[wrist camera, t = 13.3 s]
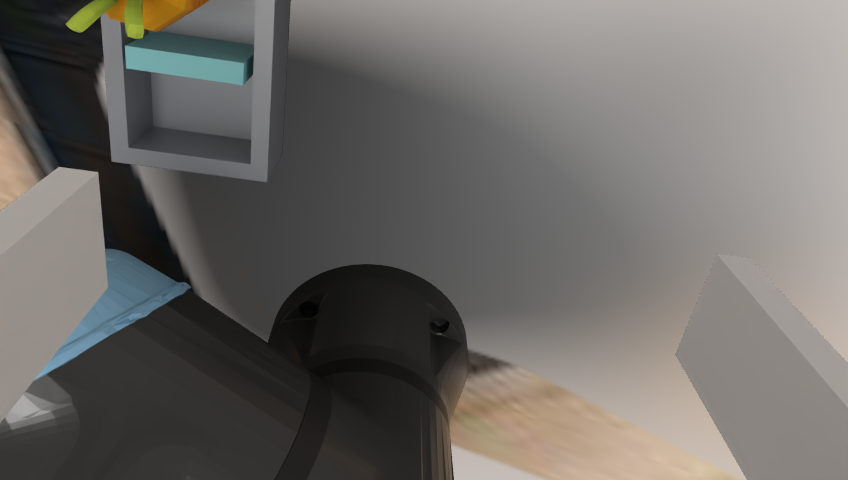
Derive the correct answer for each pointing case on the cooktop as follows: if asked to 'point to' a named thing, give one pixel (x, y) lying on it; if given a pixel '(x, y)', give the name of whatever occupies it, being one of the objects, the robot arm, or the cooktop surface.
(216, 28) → the grey open box
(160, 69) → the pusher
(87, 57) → the cooktop surface
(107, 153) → the cooktop surface
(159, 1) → the carrot
